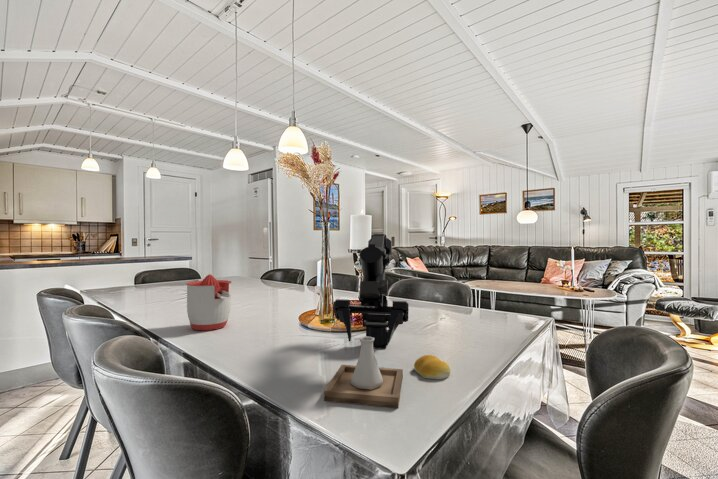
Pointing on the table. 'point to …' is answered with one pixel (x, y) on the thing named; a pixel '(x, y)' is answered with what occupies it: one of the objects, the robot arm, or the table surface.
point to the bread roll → (432, 367)
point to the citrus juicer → (208, 303)
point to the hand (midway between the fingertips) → (368, 341)
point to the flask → (367, 367)
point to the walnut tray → (379, 396)
